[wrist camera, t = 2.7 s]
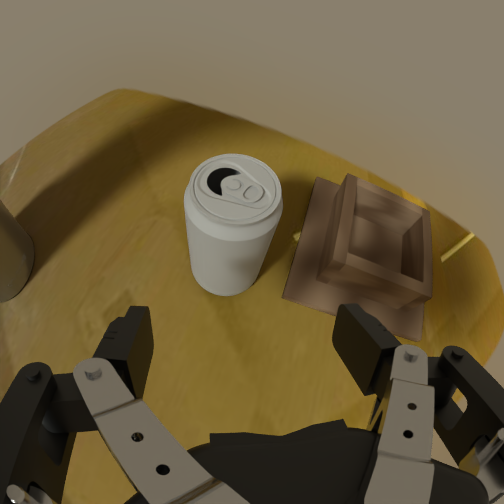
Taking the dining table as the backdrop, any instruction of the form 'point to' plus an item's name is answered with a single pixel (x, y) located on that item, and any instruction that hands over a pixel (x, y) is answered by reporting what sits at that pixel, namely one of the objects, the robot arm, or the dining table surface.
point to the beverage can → (231, 221)
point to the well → (364, 255)
